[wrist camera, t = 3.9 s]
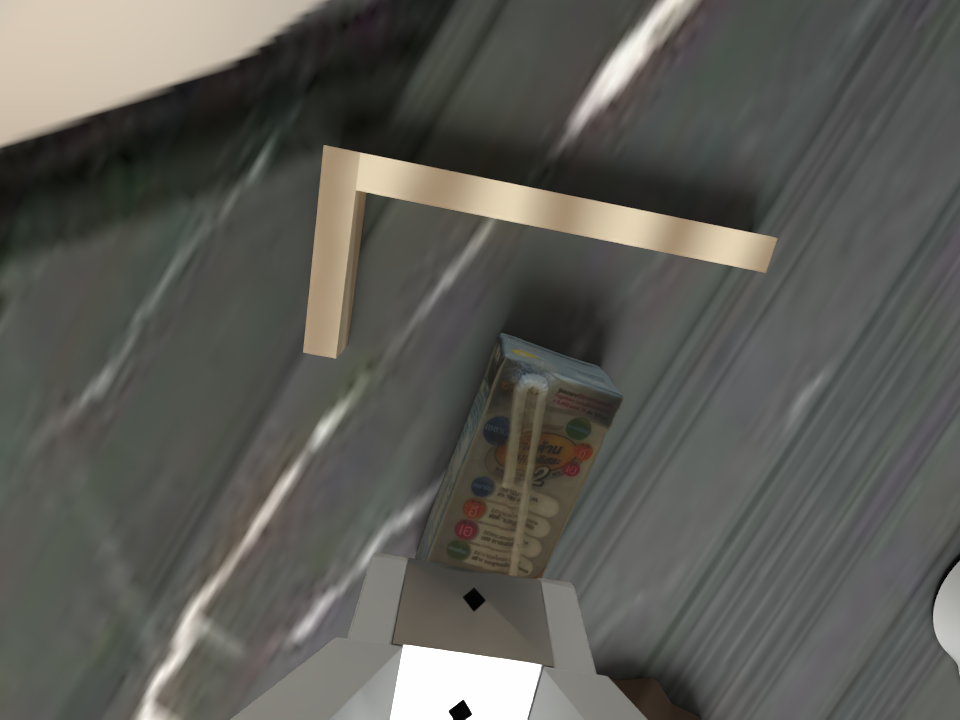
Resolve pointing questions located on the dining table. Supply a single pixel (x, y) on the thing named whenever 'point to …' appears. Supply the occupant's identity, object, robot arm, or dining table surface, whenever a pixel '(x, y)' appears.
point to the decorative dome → (652, 699)
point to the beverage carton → (520, 461)
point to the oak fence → (365, 173)
